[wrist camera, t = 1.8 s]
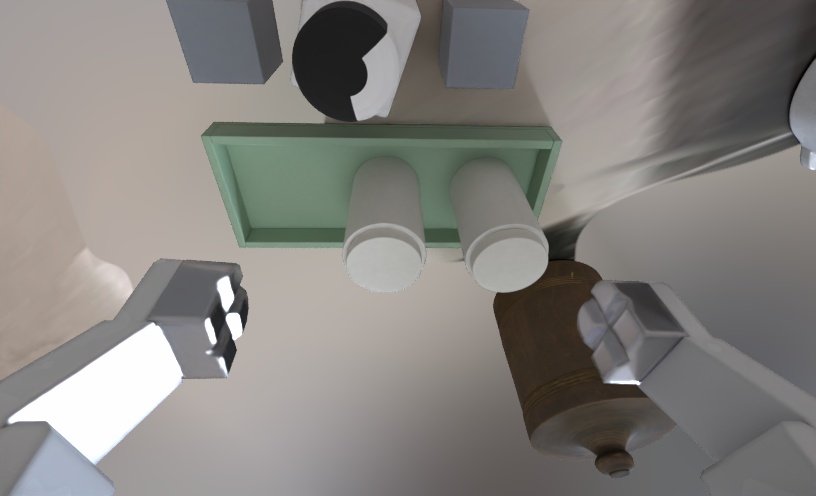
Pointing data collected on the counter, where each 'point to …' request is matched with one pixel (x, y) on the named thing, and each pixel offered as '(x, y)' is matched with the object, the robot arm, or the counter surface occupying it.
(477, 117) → the counter surface
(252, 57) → the grey box
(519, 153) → the tray
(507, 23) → the grey box
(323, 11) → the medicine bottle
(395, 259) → the white bottle
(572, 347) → the wooden container
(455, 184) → the white bottle
